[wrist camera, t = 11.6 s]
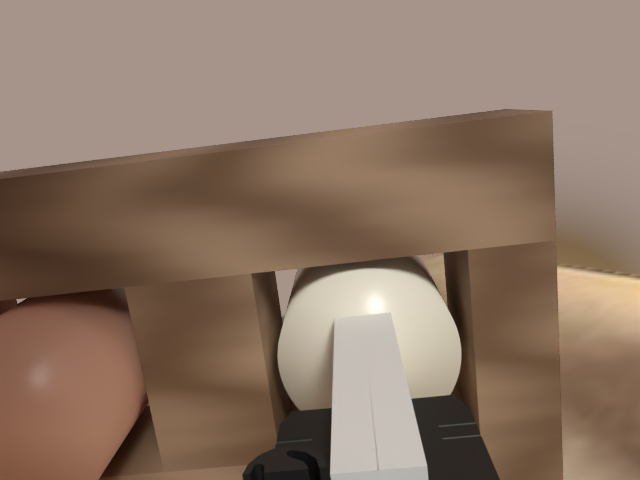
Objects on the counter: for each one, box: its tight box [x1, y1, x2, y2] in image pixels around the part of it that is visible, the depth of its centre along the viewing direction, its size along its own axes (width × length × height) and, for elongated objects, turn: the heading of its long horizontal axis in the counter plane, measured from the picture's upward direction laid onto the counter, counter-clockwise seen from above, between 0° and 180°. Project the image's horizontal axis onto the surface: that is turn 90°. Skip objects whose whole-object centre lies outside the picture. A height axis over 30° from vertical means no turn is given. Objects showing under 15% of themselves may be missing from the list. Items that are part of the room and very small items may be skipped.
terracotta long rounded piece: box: [0, 287, 149, 480], centre depth 18 cm, size 5×9×5 cm, turn 178°
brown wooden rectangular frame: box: [0, 109, 563, 480], centre depth 18 cm, size 28×7×16 cm, turn 88°
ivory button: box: [277, 255, 461, 411], centre depth 20 cm, size 5×9×5 cm, turn 178°
